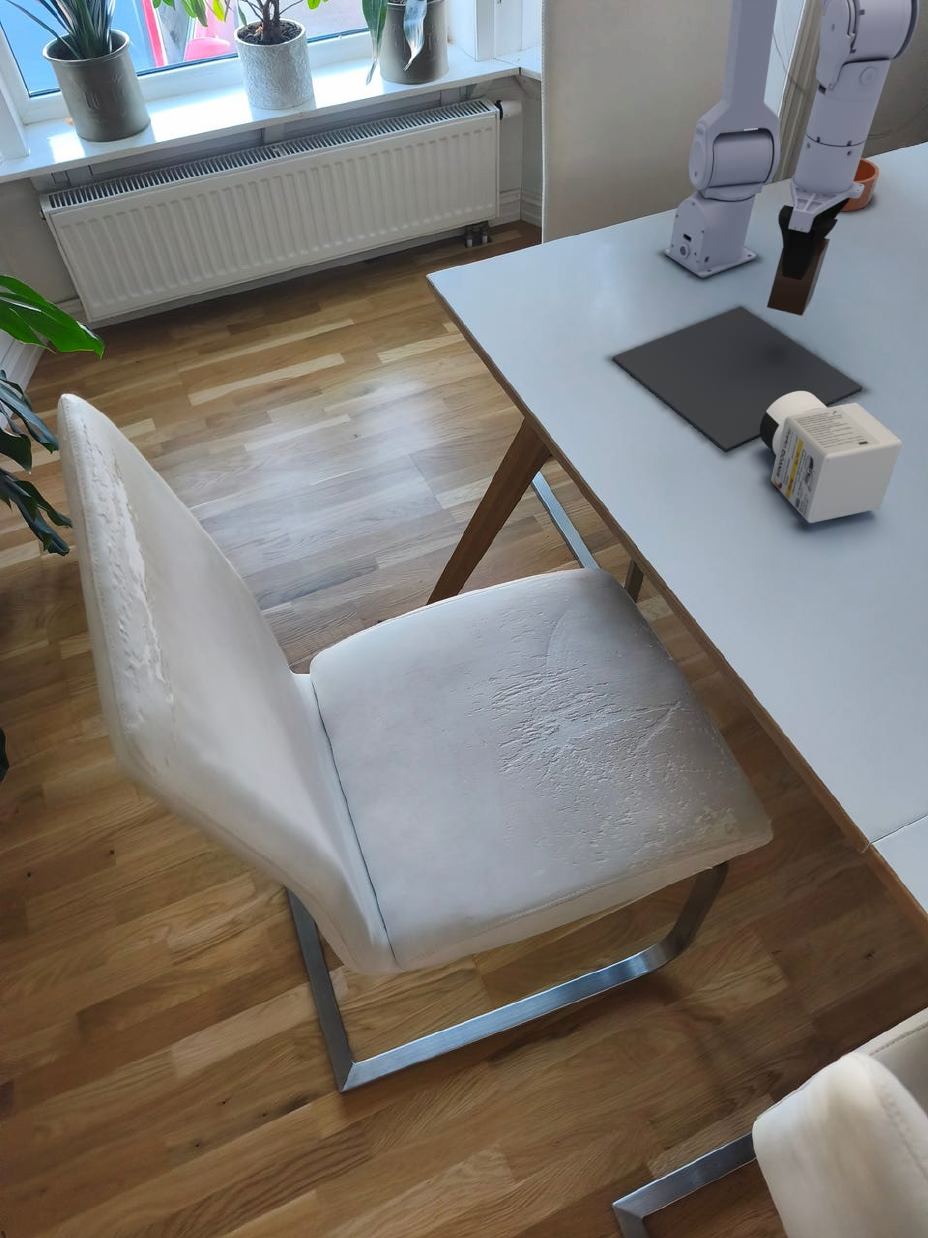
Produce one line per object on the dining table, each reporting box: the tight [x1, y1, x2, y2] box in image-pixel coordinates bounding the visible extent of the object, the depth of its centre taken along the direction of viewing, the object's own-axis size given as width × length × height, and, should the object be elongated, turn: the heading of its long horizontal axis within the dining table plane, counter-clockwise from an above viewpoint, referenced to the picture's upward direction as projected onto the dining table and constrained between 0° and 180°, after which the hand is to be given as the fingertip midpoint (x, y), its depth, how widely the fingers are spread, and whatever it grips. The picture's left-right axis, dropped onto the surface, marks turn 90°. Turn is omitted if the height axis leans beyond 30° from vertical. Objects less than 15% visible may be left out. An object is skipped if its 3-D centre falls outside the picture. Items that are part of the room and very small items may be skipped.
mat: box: [611, 306, 863, 452], centre depth 99 cm, size 20×20×1 cm
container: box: [759, 391, 903, 524], centre depth 84 cm, size 8×8×13 cm
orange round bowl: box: [840, 157, 880, 212], centre depth 123 cm, size 9×9×4 cm
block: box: [766, 237, 831, 317], centre depth 94 cm, size 4×4×7 cm
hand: (798, 267), depth 93 cm, fingers closed on block, 4 cm apart
